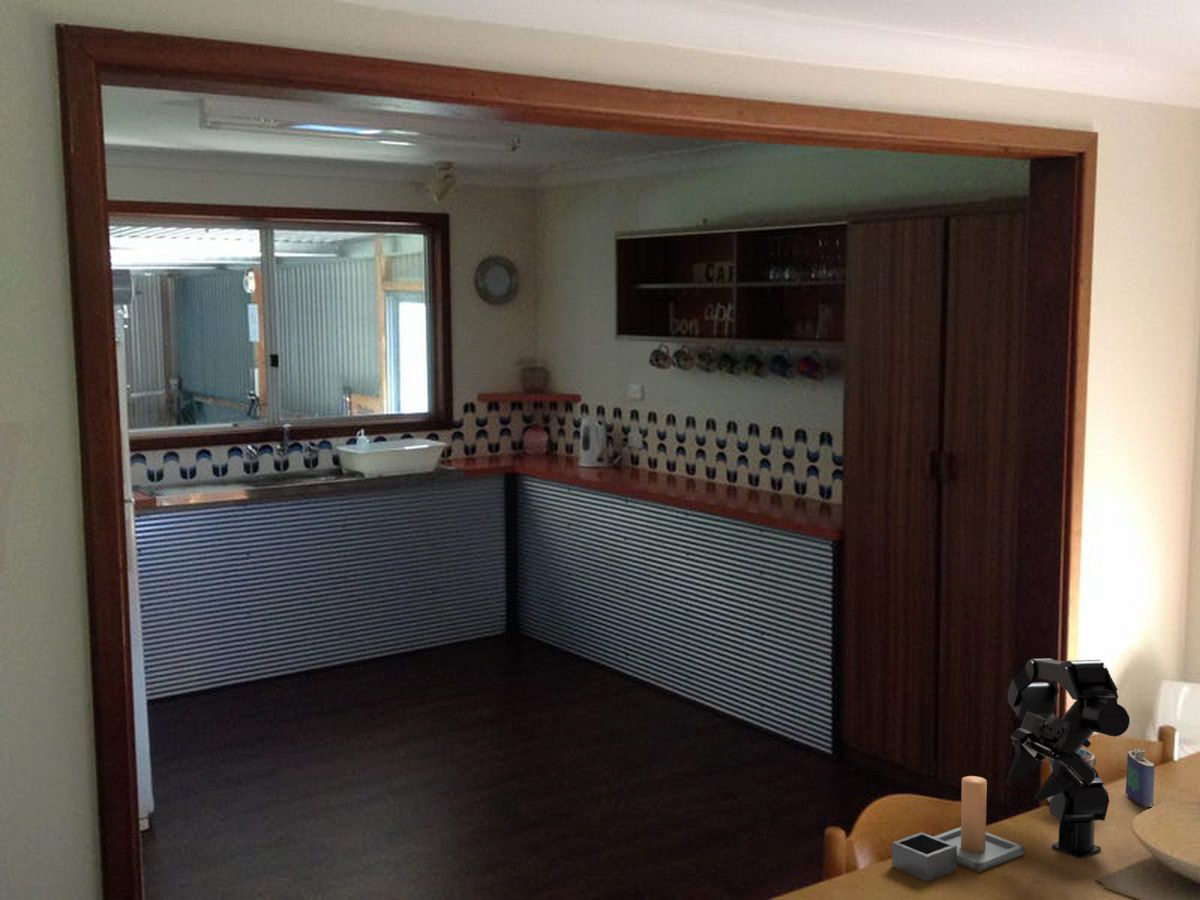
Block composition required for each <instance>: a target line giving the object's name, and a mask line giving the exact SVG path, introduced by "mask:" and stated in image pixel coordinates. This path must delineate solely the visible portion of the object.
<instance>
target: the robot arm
mask: <svg viewBox="0 0 1200 900" xmlns="http://www.w3.org/2000/svg"><path fill="white" fill-rule="evenodd" d="M1034 680H1042V682H1041V681H1039V682H1038V681H1036V682H1034ZM1045 681H1046V682H1045ZM1057 683H1058V684H1061V685H1060V686H1061V688H1062V689H1064V690H1066V692H1067V693H1068V695H1069V696H1070V698H1071V699H1072V700H1074V702H1073V703H1072V705H1071V706H1070V707H1069V708H1068V710H1067V711H1066V712H1065V713H1064V715H1063V716H1062V717H1059V716H1056V715H1055V713H1054V710H1055V706H1056V703H1057V699H1056V698H1057V696H1058V694H1059V691H1060V690H1059V688H1058V685H1057ZM1118 699H1119V694H1118V688H1117V686H1116V684H1115V682H1114V680H1113V678H1112V676H1111V675H1110V672H1109V669H1108V667H1107V666H1105V663H1104V662H1103V661H1102V660H1101V659H1084V660H1083V659H1082V660H1079V659H1078V660H1065V661H1061V660H1056V659H1052V658H1050V657H1049V658H1047V657H1046V658H1044V657H1043V658H1031V659H1029V660H1027V662H1026V663H1025V666H1024V668H1023V669H1022V670H1021V671H1020V672H1018V673H1017V674H1016V675H1015V676H1014V677H1013V678H1012V679H1011V682H1010V685H1009V687H1008V690H1007V702H1008V704H1009V706H1010V707H1011V709H1012V710H1013V712H1014V713H1015V715H1016V716H1017V717H1018V719H1020V720H1022V723H1021V725H1020V727H1019V728H1016V729H1015V730H1014V732H1013V733H1012V734H1011V735H1010V737H1011V739H1012V745H1013V746H1014V752H1015V755H1014V758H1013V762H1012V763H1011V764H1012V765H1011V768H1010V771H1009V772H1008V775H1007V778H1006V783H1007V784H1008V785H1009V786H1012V785H1014V784H1016V782H1019V780H1021V779H1023V778H1024V777H1025V776H1027V775H1028V774H1029V773H1031V772H1032V771H1034V770H1035V769H1037V767H1040V765H1041V763H1040V761H1042V760H1045V758H1047V760H1048V763H1049V762H1050V763H1049V765H1050V764H1051V766H1052V768H1053V770H1052V772H1051V773H1050V775H1049V776H1048V777H1047V779H1046V780H1045V781H1044V783H1043V784H1042V785H1041V787H1040V789H1039V790H1038V792H1037V794H1036V795H1035V799H1037V801H1038V802H1041V801H1044V800H1046V799H1047V798H1049V797H1051V796H1053V797H1052V799H1051V800H1050V801H1048V805H1049V812H1050V815H1051V816H1052V817H1054V818H1055V819H1056V820H1057V821H1059V826H1058V841H1057V842H1055V843H1053V844H1051V848H1052V849H1055V850H1057V851H1060V852H1062V853H1065V854H1068V855H1070V856H1073V857H1077V858H1079V859H1083V858H1085V857H1086V858H1087V857H1088V856H1091V855H1093V854H1096V853H1098V852H1100V851H1101V850H1102V847H1100V846H1099V845H1096V844H1094V843H1095V821H1100V822H1101V821H1102V822H1103V821H1105V819H1106V817H1107V811H1108V808H1109V804H1110V797H1109V792H1108V790H1107V789H1106V788H1105V787H1104V783H1105V782H1104V781H1103V780H1102V779H1101V778H1100V776H1099V774H1098V771H1097V770H1096V769H1095V768H1093V767H1091V766H1092V765H1091V766H1090V765H1089V764H1088V763H1087V762H1086V761H1085V760H1084V759H1083V758H1082V757H1081V756H1080V755H1079V754H1077V752H1078V751H1079V750H1080V749H1082V748H1083V747H1085V748H1089V747H1090V746H1091V745H1092V742H1090V741H1089V739H1090V738H1091V736H1092V735H1093V734H1094V733H1097V734H1102V735H1104V736H1109V737H1114V738H1115V737H1120V736H1122V735H1123V734H1124V733H1126V731H1127V730H1128V728H1129V725H1130V721H1131V720H1130V715H1129V714H1128V711H1127V710H1126V708H1125V707H1123V706H1122V705H1121V704H1119V703H1118ZM1051 766H1050V767H1051Z"/></svg>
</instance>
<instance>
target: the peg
mask: <svg viewBox="0 0 1200 900" xmlns="http://www.w3.org/2000/svg"><path fill="white" fill-rule="evenodd" d="M987 782H988V781H987V779H985V777H981V776H974V775H968V776H963V777H962V778H961V802H960V803H961V809H960V813H961V815H960V816H961V817H960V827H961V849H962V850H964V851H966V852H969V853H982V852H984V851H985V845H986V832H987V791H988V790H987V786H988V785H987V784H988V783H987Z"/></svg>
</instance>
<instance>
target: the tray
mask: <svg viewBox="0 0 1200 900" xmlns="http://www.w3.org/2000/svg"><path fill="white" fill-rule="evenodd" d="M933 837H936V838H938V839H941V840H943V841H946V842H948V843H951V844H953V845H956V846H957V864H958V863H959V864H958V865H960V864H961V865H960V866H963V865H964V866H963V867H965V866H966V867H965V868H967V867H968V868H967V869H970V868H971V869H970V870H972V869H974V870H973V871H975V870H976V871H975V872H977V871H978V873H981V872H983V871H982V870H984V871H986V870H989V869H991V868H994V867H996V866H998V865H1001V864H1003V863H1006V862H1008V861H1011V860H1014V859H1015V858H1019V857H1021V856H1023V855H1025V846H1024V845H1021V844H1018V843H1017V842H1015V841H1014V842H1013V841H1011V840H1008V839H1006V838H1004V837H1000V836H998V835H995V834H992V833H990V832H987V831H986V845H985V851H984V852H982V853H969V852H966V851H964V850H962V849H961V826H958V827H956V828H953V829H951V830H949V831H945V832H943V833H939V834H937V835H935V836H933ZM993 866H994V867H993ZM988 868H989V869H988ZM985 869H986V870H985ZM980 871H981V872H980Z"/></svg>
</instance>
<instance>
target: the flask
mask: <svg viewBox="0 0 1200 900" xmlns="http://www.w3.org/2000/svg"><path fill="white" fill-rule="evenodd" d="M1145 754H1146V751H1145V749H1144V750H1141V749H1139V748H1135V749H1134V751H1133V750H1129V751H1128V752H1127V758H1126V759H1127V760H1126V761H1127V762H1126V779H1125V780H1126V781H1125V782H1126V783H1125V790H1124V791H1125V793H1126V794H1127V795H1128V797H1129V798H1130V799H1131V801H1132V800H1133V801H1134V802H1133V803H1135V804H1136V803H1137V805H1138V806H1139V805H1140V807H1142V808H1143V807H1144V809H1148V808H1147V807H1149V806H1153V807H1154V800H1155V799H1154V788H1155V786H1154V785H1155V782H1154V781H1155V768H1156V765H1155V763H1154V762H1151V761H1149V760H1148V759H1146V758H1145ZM1125 793H1124V794H1125ZM1126 794H1125V795H1126ZM1128 797H1127V798H1128ZM1129 798H1128V799H1129ZM1130 799H1129V800H1130Z"/></svg>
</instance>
